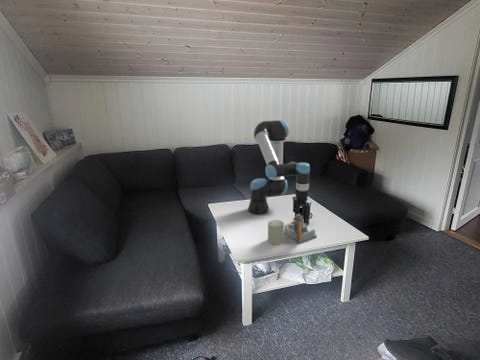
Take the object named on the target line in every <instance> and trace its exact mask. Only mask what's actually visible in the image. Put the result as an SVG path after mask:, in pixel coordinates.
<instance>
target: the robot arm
mask: <svg viewBox="0 0 480 360" xmlns="http://www.w3.org/2000/svg"><path fill="white" fill-rule="evenodd" d="M289 134H290V130H289V124H288V123H287V122H286V121H285V120H264V121H260V122H259V123H258V124H257V125H256V126H255V128H254V132H253V136H254V137H253V138H254V139H255V142H256V143H258V146H259V148H260V151H261V154H262V155H263V159H264V161H265V163H266V166H265V175H266V177H267V178H268V180H267V179H266V178H263V177H262V178H255V179H253V180H252V181H251V182H250V187H249V188H250V194H249V195H250V200H249V205H248V206H247V207H248V208H247V210H248V213H249V214H253V215H264V214H268V213H269V211H270V207H269V205H268V200H267V198H268V197H280V196H283V195H285V194H287V191H288V186H289V185H288V181H287V179H285V177H292V176H293V177H295V196H293V197H292V200H293V201H292V212H293V213H294V218H295V217H298V216H300V214H299V213H300V208H302V212H303V218H302V228H305V227H306V223H307V218H310V217H311V214H310V213H311V205H312V202H311V201H309V200H308V197H309V193H310V192H309V188H310V174H311V173H310V171H311V168H310V167H311V166H310V164H309V163H308V162H297V161H290V162H288V163H284V142H286V138H288V137H289Z"/></svg>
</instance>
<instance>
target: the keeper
mask: <svg viewBox="0 0 480 360" xmlns="http://www.w3.org/2000/svg"><path fill="white" fill-rule="evenodd" d="M292 221H293V222H294V221H295V222H297V223H298V229H297V233H296V232H295V231H294V223H291V224H288V225H284V227H283V236H284V235H285V236H286V237H288V239H290V240H293V241H294V242H296V243H297V244H302V243H304V242H308V241H310V240H313V239H316V238H317V237H318V235H317V234H316V229H312V230H308V229H307V232H305V233H302V234H301V229H302V221H300V220H298V219H296V218H295V217H294V218H293V219H292Z"/></svg>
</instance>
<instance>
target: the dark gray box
mask: <svg viewBox="0 0 480 360" xmlns="http://www.w3.org/2000/svg"><path fill="white" fill-rule="evenodd" d="M294 218H296V219H298V220H300V221H302V218H303V215H301V216H298V217H295V216H294ZM293 222H294V231H295V232H296V233H297V229H298V223H297V222H295V221H293ZM307 230H308V225H307V223H306V227H305V228H302V229H301V234H302V233H305V232H307Z"/></svg>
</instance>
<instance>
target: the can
mask: <svg viewBox="0 0 480 360" xmlns="http://www.w3.org/2000/svg"><path fill="white" fill-rule="evenodd" d="M284 224H285V223H284V222H283V221H282V220H279V219H272V220H269V221H268V222H267V242H268V243H269V244H270V245H274V246H276V245H277V246H278V245H280V244H283V243H284V234H283V230H284V227H285V225H284Z"/></svg>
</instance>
